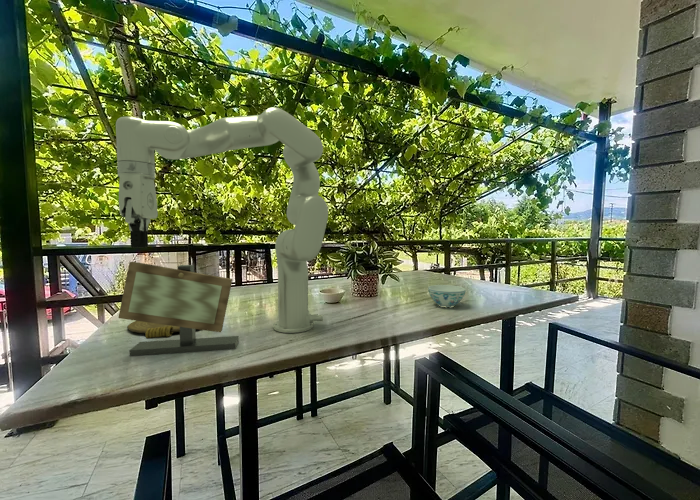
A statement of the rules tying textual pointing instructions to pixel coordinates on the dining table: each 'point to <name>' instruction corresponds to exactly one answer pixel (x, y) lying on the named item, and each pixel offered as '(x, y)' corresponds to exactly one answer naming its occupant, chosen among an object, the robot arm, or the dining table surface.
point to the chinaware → (446, 294)
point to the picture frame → (174, 297)
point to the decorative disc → (153, 329)
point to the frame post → (185, 340)
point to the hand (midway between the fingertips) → (139, 247)
